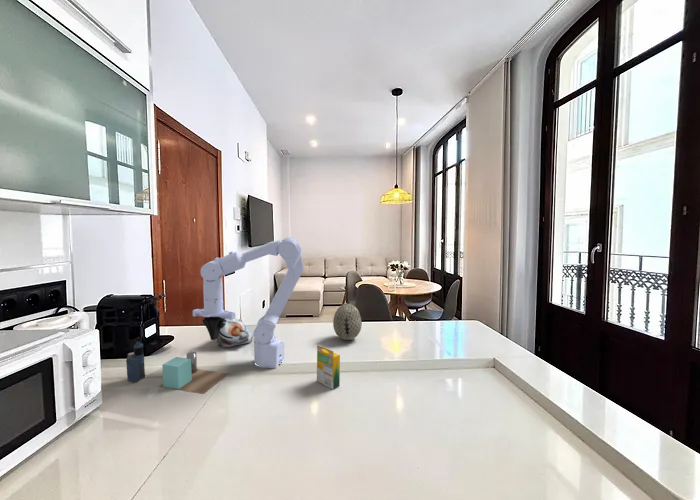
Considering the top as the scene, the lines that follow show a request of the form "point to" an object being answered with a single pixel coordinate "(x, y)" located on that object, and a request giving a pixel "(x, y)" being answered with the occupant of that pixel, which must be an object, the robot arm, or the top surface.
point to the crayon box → (328, 367)
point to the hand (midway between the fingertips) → (214, 338)
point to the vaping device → (136, 364)
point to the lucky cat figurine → (233, 333)
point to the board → (202, 381)
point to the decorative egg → (347, 322)
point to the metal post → (192, 361)
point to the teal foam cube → (177, 372)
